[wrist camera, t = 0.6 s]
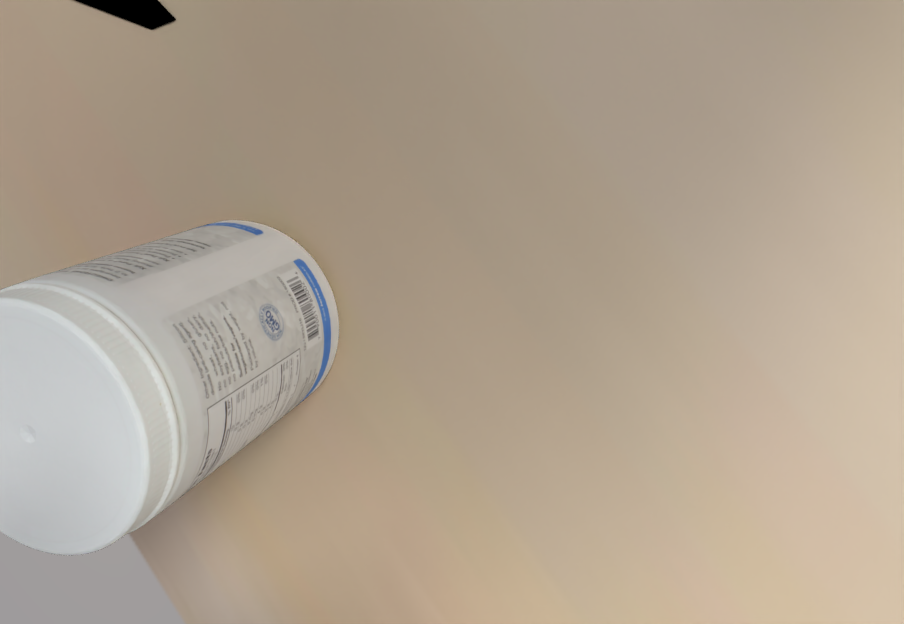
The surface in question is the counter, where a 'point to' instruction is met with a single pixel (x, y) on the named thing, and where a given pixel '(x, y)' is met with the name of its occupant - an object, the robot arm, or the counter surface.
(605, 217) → the counter surface
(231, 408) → the supplement tub
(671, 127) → the counter surface
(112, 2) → the toy airplane
